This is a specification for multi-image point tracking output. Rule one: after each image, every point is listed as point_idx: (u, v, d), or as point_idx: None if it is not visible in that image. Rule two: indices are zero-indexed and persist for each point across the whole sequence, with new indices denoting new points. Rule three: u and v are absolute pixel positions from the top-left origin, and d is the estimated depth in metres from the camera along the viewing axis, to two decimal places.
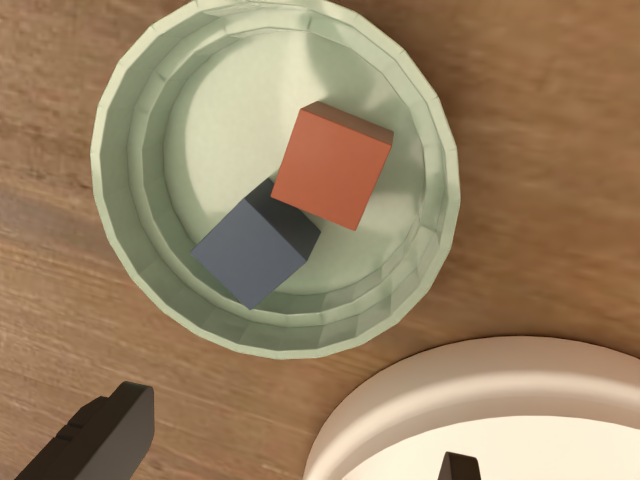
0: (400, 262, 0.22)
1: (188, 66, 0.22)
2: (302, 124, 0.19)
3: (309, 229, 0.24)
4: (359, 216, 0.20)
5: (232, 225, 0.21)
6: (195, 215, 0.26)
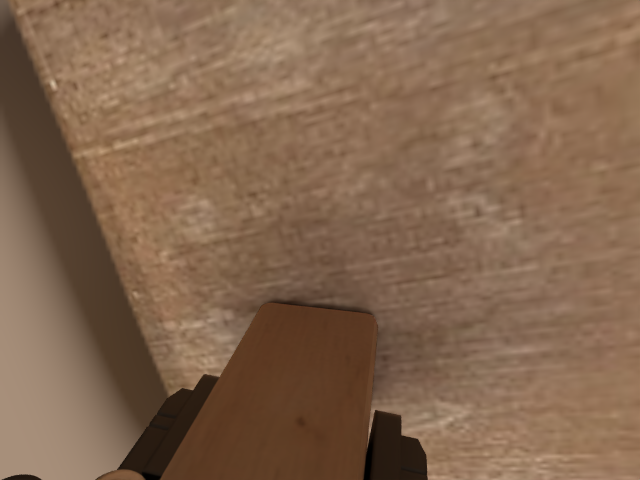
0: None
1: None
2: None
3: None
4: None
5: None
6: None
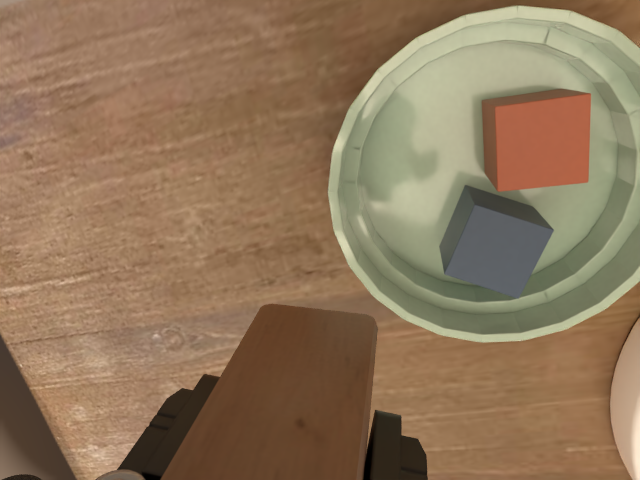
0: (633, 192, 0.23)
1: None
2: (502, 118, 0.21)
3: (527, 208, 0.25)
4: (587, 167, 0.22)
5: (473, 232, 0.23)
6: (414, 248, 0.28)
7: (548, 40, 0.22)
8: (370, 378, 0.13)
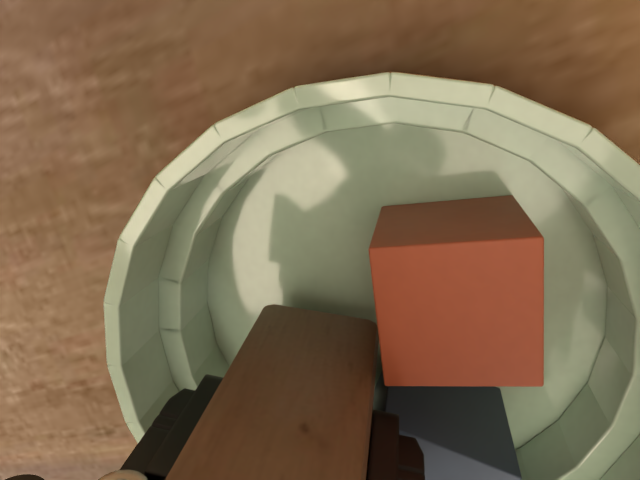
0: (630, 385, 0.13)
1: (199, 249, 0.16)
2: (383, 269, 0.12)
3: (486, 400, 0.16)
4: (540, 362, 0.12)
5: None
6: None
7: (472, 126, 0.12)
8: (372, 385, 0.13)
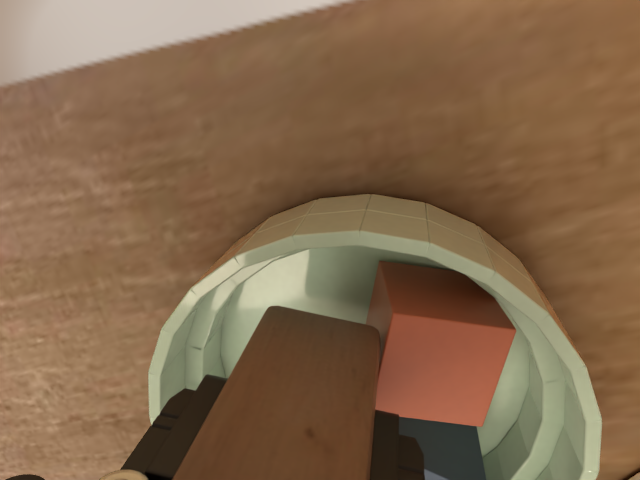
0: (540, 428, 0.18)
1: (216, 321, 0.20)
2: (398, 329, 0.15)
3: (464, 432, 0.20)
4: (486, 411, 0.16)
5: None
6: None
7: None
8: (375, 392, 0.13)
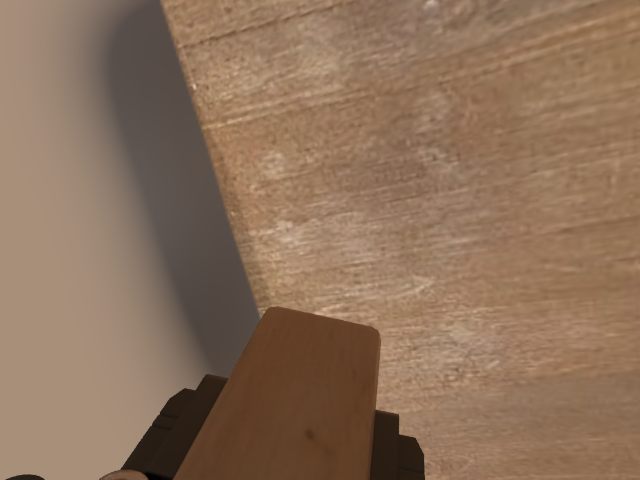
0: None
1: None
2: None
3: None
4: None
5: None
6: None
7: None
8: (375, 393, 0.13)
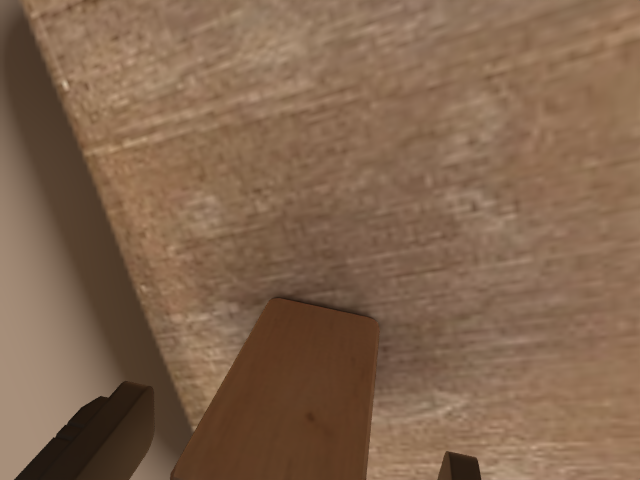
0: None
1: None
2: None
3: None
4: None
5: None
6: None
7: None
8: (373, 380, 0.13)
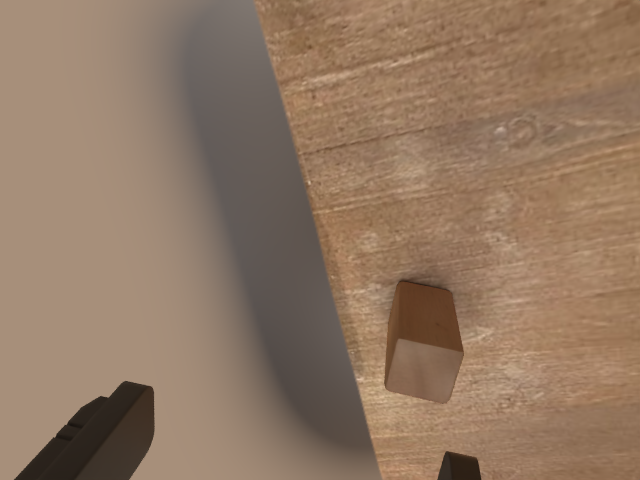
0: None
1: None
2: None
3: None
4: None
5: None
6: None
7: None
8: None
